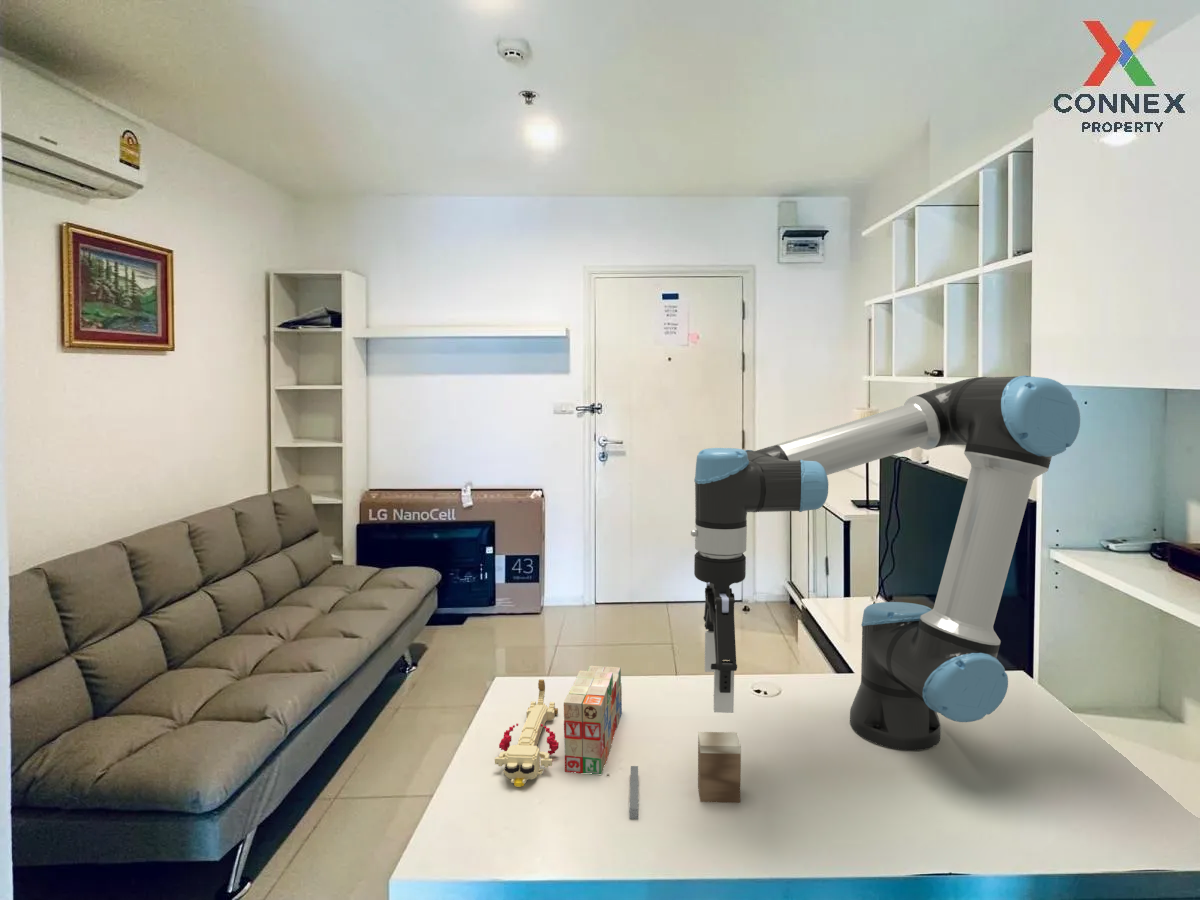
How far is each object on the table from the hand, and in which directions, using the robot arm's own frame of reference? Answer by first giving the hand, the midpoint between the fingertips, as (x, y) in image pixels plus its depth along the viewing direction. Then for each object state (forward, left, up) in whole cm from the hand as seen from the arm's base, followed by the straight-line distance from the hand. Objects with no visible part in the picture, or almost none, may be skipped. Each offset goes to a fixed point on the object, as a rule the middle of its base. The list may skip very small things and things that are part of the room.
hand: (718, 690), depth 103 cm
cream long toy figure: (+31, -12, -17) cm, 37 cm away
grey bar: (+13, +1, -17) cm, 21 cm away
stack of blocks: (+20, -15, -17) cm, 30 cm away
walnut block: (0, 0, -17) cm, 17 cm away
